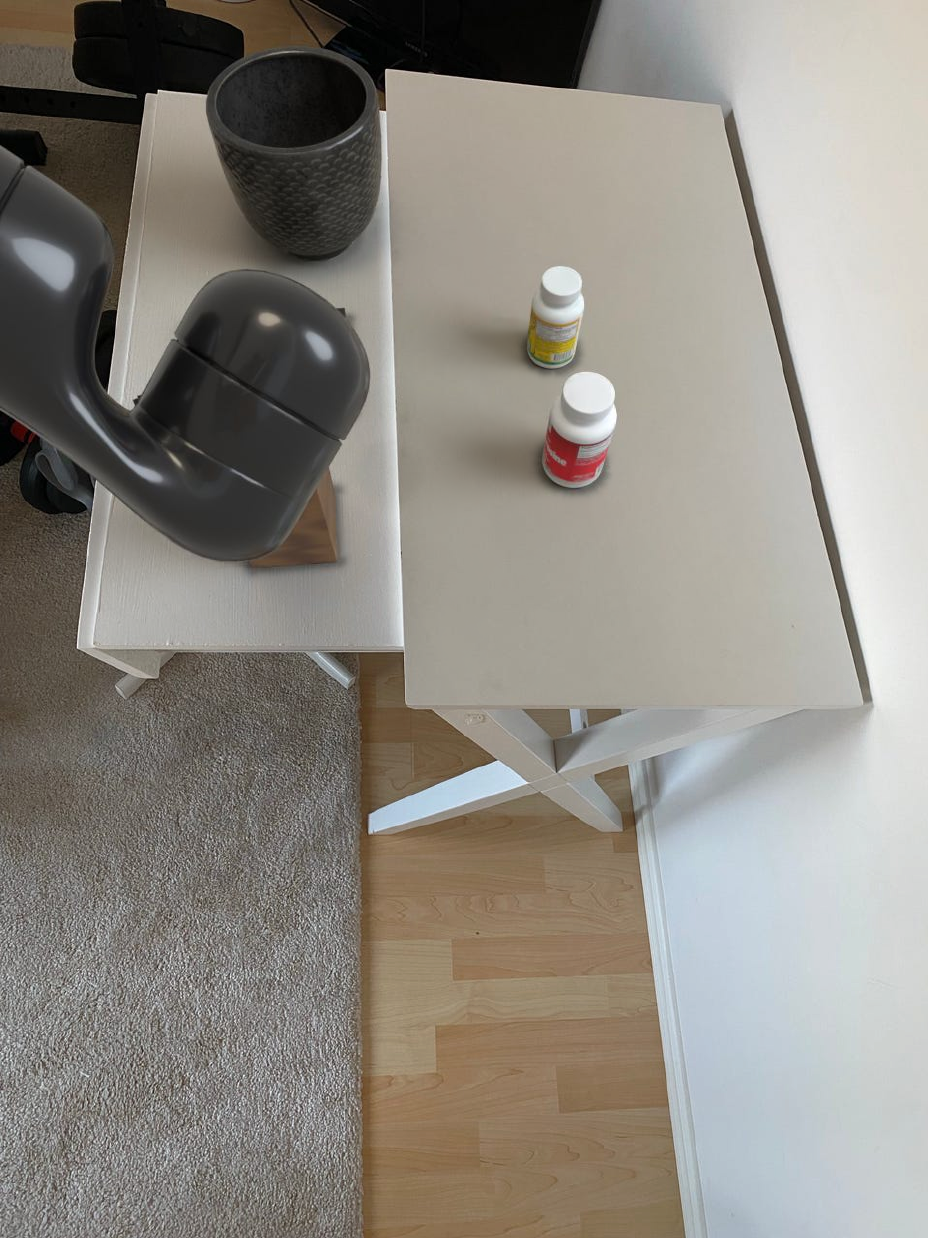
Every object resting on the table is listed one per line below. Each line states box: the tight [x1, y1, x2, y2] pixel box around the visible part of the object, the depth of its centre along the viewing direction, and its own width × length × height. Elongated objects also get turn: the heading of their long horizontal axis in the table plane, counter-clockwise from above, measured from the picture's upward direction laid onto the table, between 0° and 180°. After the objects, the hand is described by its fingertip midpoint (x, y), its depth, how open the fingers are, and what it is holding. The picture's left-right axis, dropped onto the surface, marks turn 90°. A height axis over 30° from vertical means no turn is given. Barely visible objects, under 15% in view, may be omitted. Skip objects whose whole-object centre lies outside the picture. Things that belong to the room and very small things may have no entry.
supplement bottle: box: [526, 265, 585, 369], centre depth 82 cm, size 5×5×10 cm
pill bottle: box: [541, 371, 618, 489], centre depth 75 cm, size 6×6×11 cm
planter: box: [205, 45, 383, 262], centre depth 85 cm, size 17×17×16 cm
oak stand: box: [249, 467, 338, 569], centre depth 70 cm, size 8×8×14 cm
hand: (243, 383), depth 60 cm, fingers closed on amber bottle, 5 cm apart
